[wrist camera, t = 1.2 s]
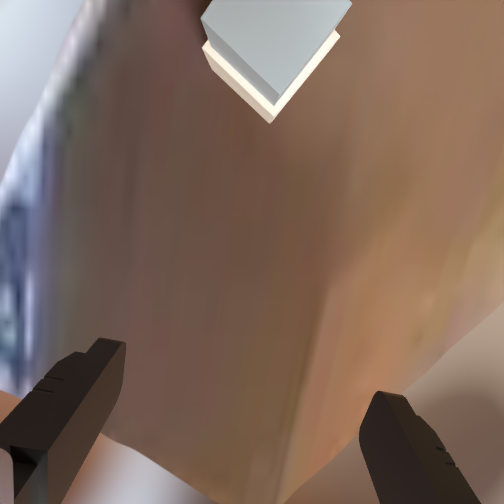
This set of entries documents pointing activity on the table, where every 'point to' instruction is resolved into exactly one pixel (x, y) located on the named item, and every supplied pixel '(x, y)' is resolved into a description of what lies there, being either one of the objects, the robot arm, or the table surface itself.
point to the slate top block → (271, 37)
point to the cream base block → (250, 92)
